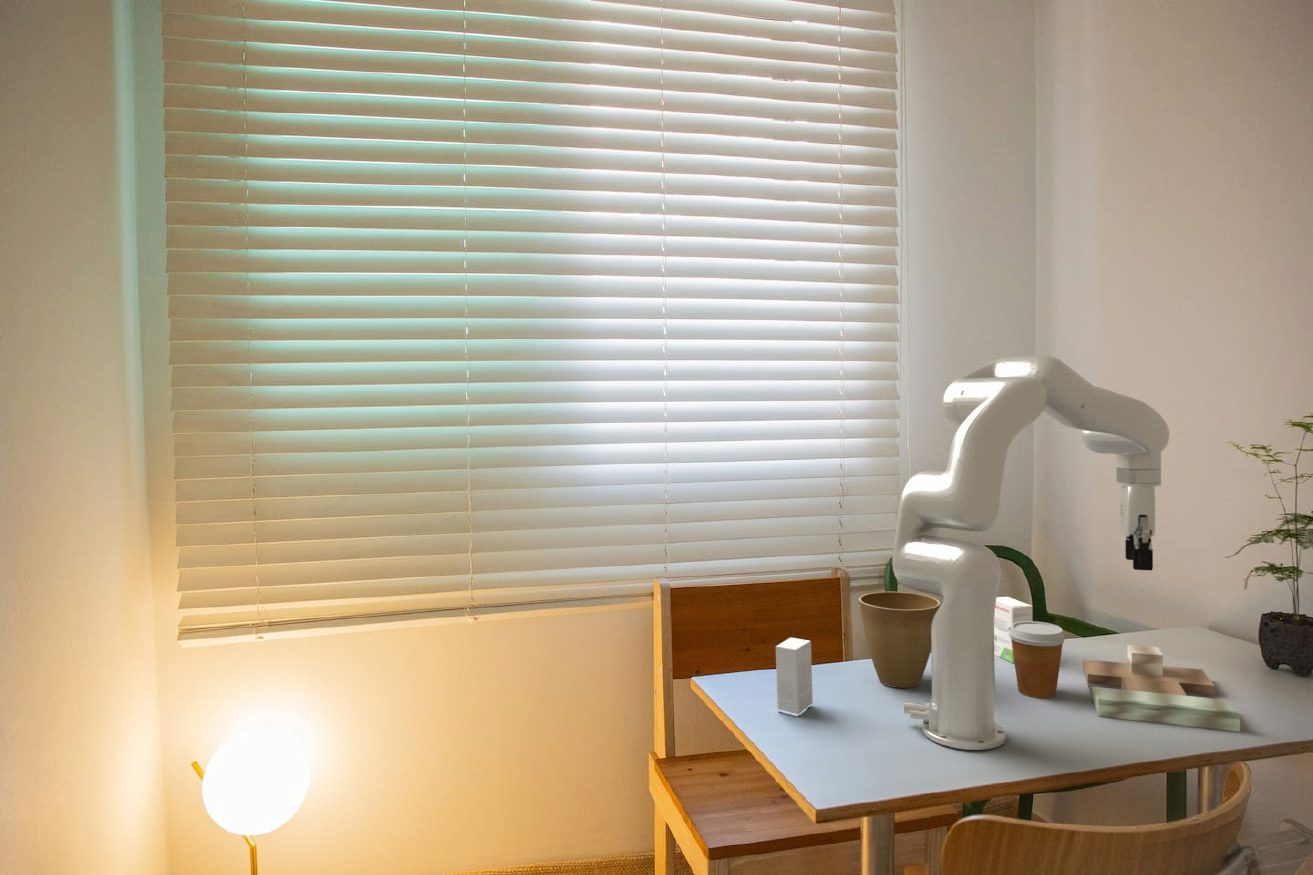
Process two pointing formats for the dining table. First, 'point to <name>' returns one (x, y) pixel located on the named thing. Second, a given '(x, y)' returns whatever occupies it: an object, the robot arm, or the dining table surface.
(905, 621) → the plant pot
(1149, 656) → the block
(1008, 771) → the dining table surface
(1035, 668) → the disposable coffee cup
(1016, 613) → the ink box
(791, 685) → the skincare box
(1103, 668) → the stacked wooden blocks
